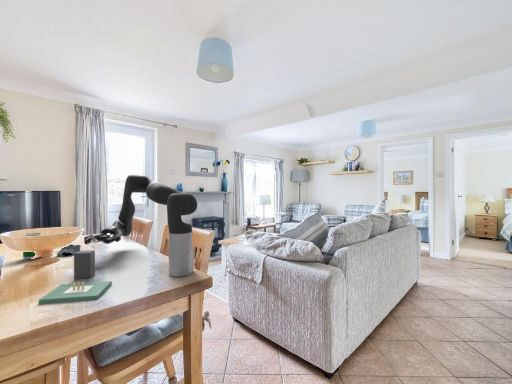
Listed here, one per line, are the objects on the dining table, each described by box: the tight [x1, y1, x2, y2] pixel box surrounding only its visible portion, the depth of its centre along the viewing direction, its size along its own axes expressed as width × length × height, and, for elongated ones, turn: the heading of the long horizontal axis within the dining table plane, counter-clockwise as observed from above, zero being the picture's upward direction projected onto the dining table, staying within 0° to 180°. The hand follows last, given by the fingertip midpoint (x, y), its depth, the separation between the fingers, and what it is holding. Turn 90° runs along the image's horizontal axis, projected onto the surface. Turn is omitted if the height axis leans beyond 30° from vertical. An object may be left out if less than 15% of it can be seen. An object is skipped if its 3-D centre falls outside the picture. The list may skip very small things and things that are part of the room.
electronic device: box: [56, 244, 82, 258], centre depth 129 cm, size 9×6×15 cm
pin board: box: [38, 280, 113, 305], centre depth 80 cm, size 16×12×4 cm
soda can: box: [22, 232, 43, 259], centre depth 119 cm, size 8×8×12 cm
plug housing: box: [73, 249, 96, 280], centre depth 95 cm, size 6×4×10 cm
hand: (96, 241), depth 106 cm, fingers open, 8 cm apart
